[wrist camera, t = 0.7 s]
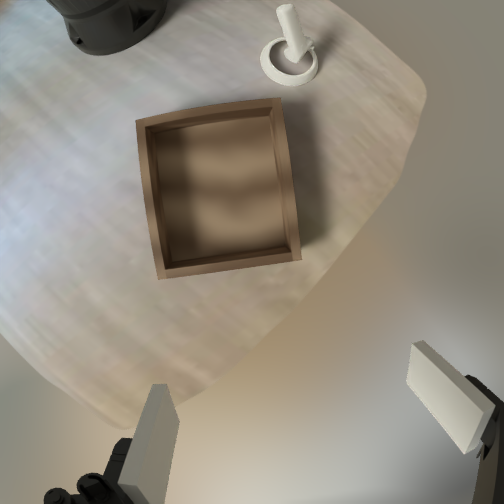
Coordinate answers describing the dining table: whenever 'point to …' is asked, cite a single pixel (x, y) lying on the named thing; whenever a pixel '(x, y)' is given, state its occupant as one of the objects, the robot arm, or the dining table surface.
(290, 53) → the hook
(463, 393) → the robot arm
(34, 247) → the dining table surface
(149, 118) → the wooden tray
